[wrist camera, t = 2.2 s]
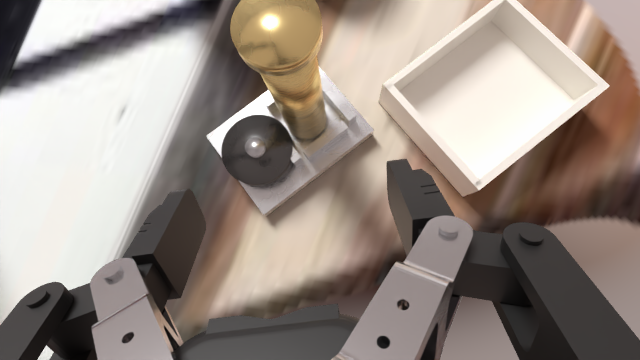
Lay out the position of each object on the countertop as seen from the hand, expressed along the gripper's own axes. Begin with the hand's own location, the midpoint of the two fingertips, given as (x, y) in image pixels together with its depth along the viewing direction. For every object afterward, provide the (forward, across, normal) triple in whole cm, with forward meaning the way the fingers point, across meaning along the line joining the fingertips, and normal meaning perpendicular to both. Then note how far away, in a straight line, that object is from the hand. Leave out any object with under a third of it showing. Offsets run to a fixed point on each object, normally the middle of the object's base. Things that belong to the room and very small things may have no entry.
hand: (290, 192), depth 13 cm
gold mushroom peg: (+16, 0, +4) cm, 17 cm away
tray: (+17, -15, +5) cm, 23 cm away
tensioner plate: (+16, +2, +5) cm, 17 cm away
